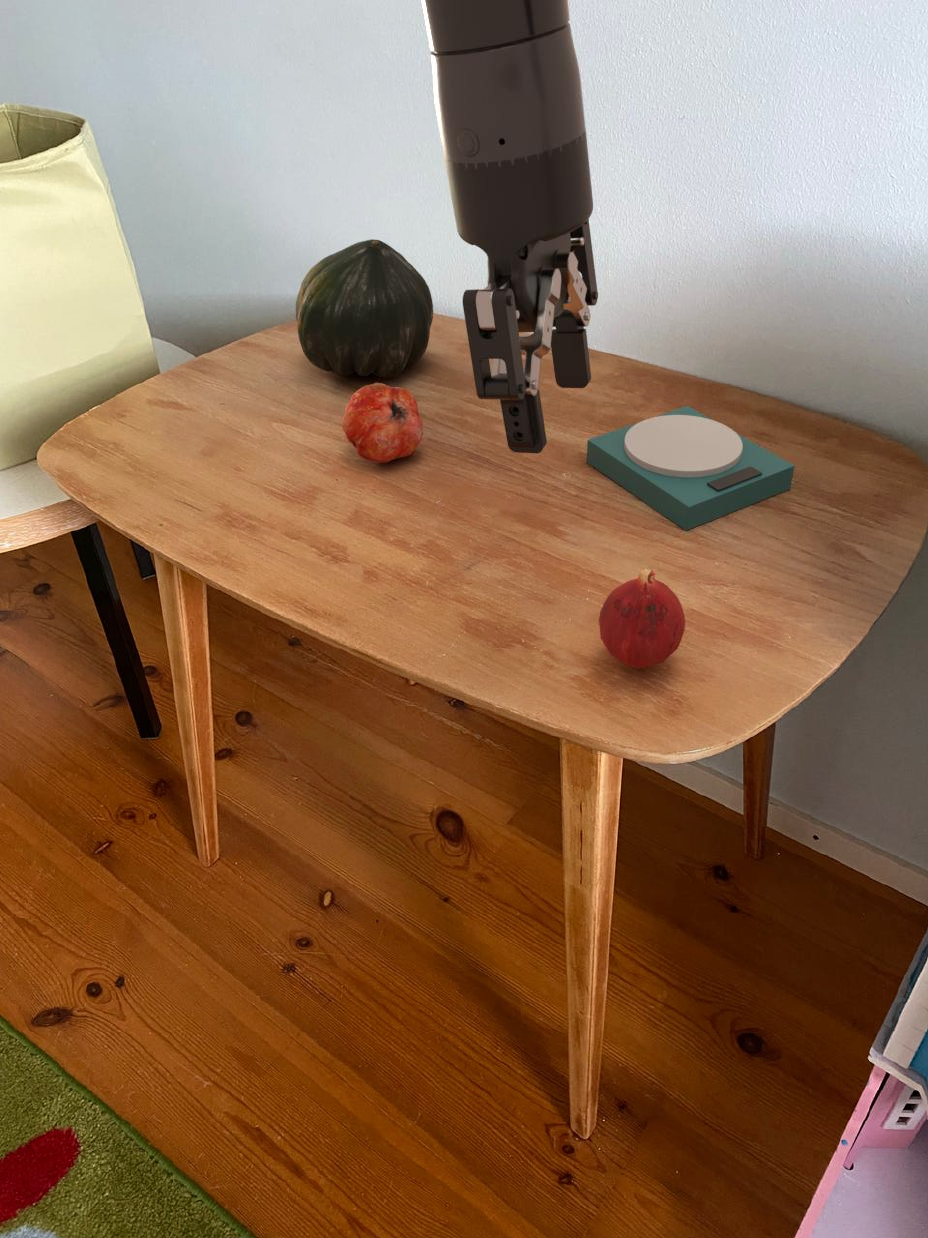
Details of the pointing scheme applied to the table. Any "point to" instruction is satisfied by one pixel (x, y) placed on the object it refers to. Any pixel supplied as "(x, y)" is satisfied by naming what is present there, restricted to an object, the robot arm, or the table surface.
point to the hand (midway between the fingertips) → (552, 416)
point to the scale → (689, 466)
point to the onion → (642, 621)
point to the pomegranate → (383, 422)
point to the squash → (364, 312)
